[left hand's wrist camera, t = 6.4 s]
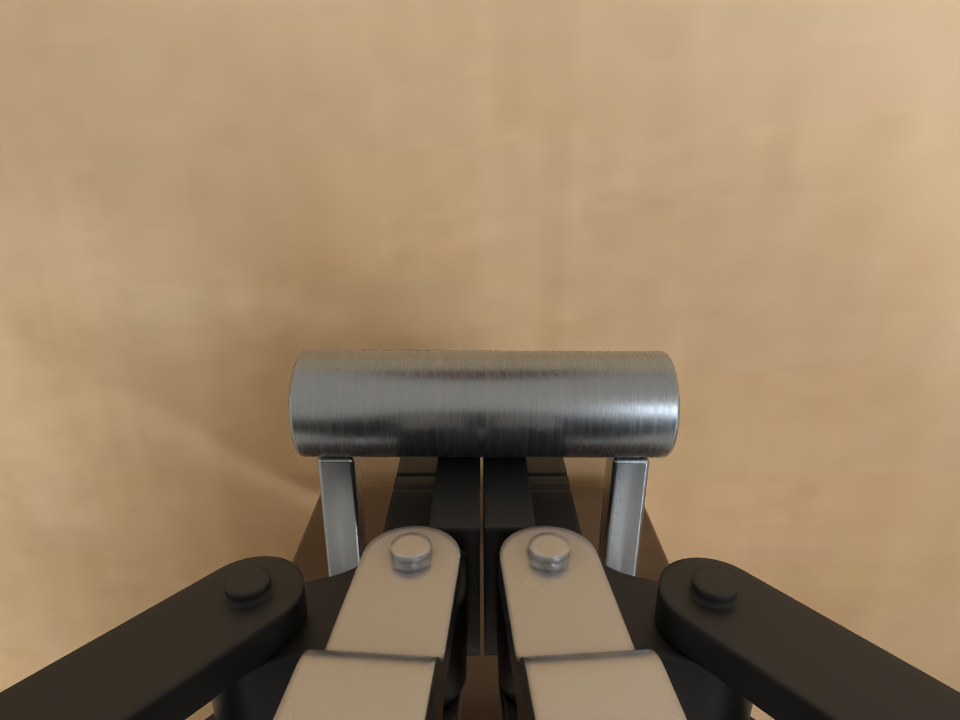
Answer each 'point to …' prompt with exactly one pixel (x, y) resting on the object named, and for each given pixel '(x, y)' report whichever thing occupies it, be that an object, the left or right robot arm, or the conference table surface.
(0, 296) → the conference table surface
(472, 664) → the drawer
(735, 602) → the left robot arm
